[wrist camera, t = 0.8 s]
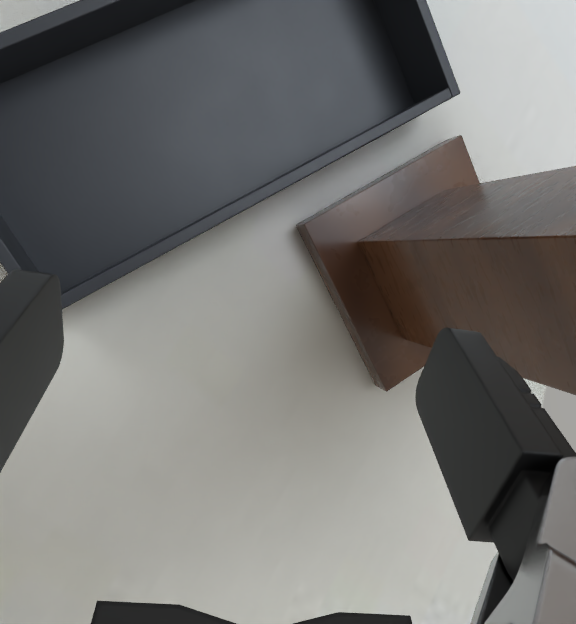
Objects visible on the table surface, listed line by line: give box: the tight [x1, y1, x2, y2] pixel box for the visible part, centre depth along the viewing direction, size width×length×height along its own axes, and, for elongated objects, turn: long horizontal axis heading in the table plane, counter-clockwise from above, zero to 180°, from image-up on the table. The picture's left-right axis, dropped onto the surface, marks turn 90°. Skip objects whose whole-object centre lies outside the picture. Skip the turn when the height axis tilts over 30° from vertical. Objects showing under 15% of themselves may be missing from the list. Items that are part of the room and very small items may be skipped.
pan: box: [0, 0, 460, 309], centre depth 26 cm, size 25×11×4 cm, turn 119°
